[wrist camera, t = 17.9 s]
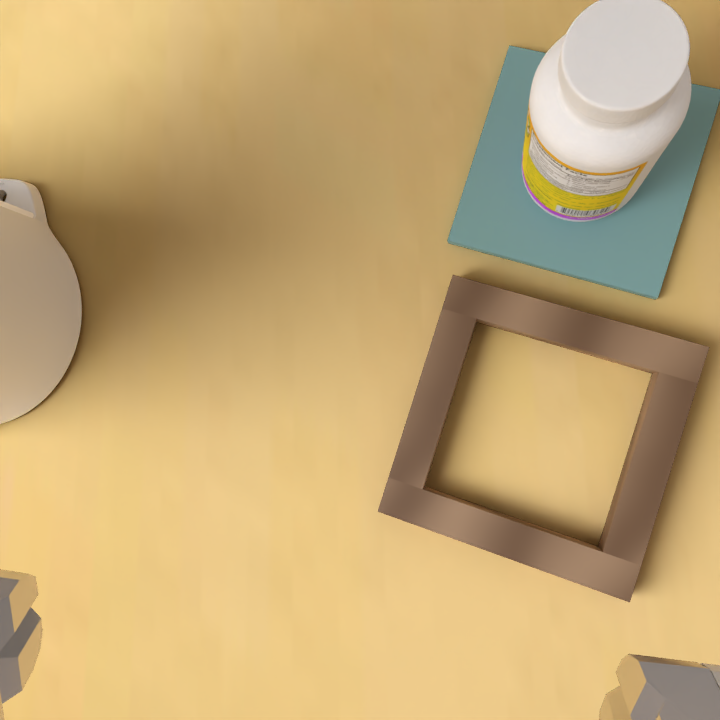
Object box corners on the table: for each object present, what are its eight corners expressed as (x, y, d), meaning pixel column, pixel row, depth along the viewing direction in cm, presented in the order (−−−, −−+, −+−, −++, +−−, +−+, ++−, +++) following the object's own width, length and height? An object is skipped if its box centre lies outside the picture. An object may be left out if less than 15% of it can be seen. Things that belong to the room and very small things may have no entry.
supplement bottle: (585, 87, 38) (634, -70, 26) (668, 169, 37) (762, 46, 25) (495, 167, 39) (499, 51, 26) (573, 250, 38) (618, 170, 25)
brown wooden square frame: (381, 507, 39) (377, 511, 38) (454, 279, 40) (452, 274, 38) (624, 594, 37) (629, 602, 35) (700, 349, 37) (709, 347, 35)
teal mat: (448, 243, 40) (447, 240, 39) (509, 50, 40) (509, 45, 39) (655, 299, 37) (657, 297, 37) (719, 95, 38) (722, 90, 37)
